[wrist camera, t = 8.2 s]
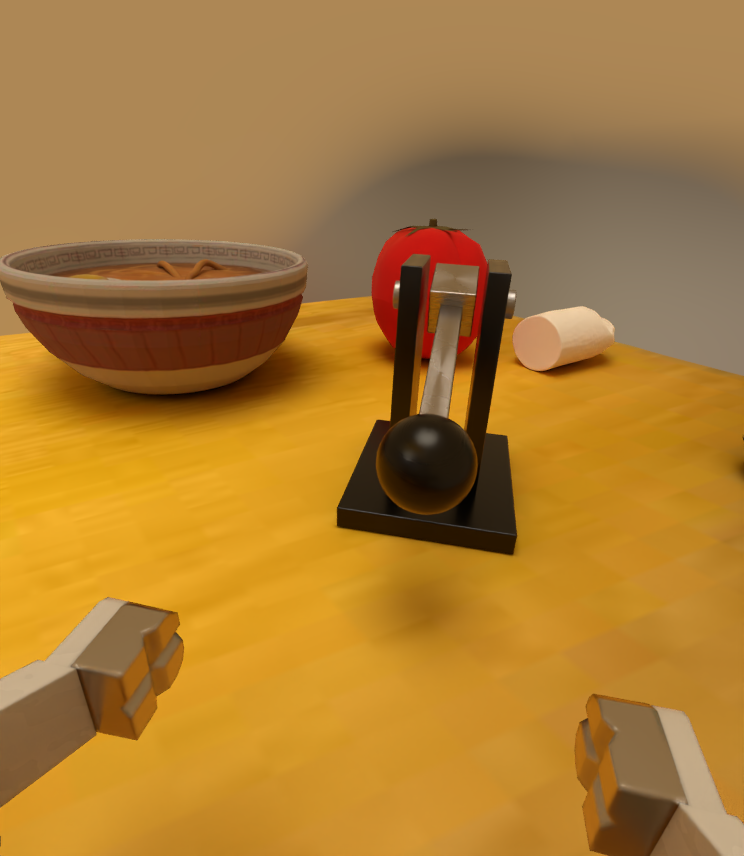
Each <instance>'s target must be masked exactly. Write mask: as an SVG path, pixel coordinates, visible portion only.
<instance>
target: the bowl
mask: <svg viewBox="0 0 744 856" xmlns="http://www.w3.org/2000/svg"><path fill="white" fill-rule="evenodd" d="M307 268H308V264H307V262H306V260H305V259H304V258H303V256H301V255H299V254H297V253H294V252H291V251H288V250H284V249H279V248H275V247H269V246H262V245H255V244H246V243H235V242H221V241H203V240H112V241H94V242H79V243H68V244H58V245H50V246H43V247H36V248H31V249H26V250H21V251H17V252H14V253H11V254H8V255H5V256H3V257H1V258H0V282H1V285H2V287H3V290H4V292H5V295H6V298H7V299H9V300H10V301H12V302H13V305H14V309H15V312H16V313H17V315H18V316H19V318H20V319H21V321H22V322H23V324H24V325H25V327H26V328H27V329H28V330H29V331H30V332H31V333H32V334H33V335H34V336H35V337H36V339H37V340H38V341H39V342H40V343H41V344H42V345H43V346H44V347H45V348H46V349H47V350H48V351H49V352H50V353H52V354H53V355H55V356H56V357H57V358H59V359H60V360H62V361H63V362H65V363H66V364H67V365H69V366H70V367H72V368H73V369H75V370H76V371H77V372H79V373H80V374H82V375H83V376H86V377H88V378H91V379H93V380H96V381H98V382H101V383H103V384H106V385H108V386H111V387H113V388H116V389H119V390H123V391H128V392H133V393H142V394H181V393H190V392H198V391H203V390H208V389H213V388H217V387H220V386H224V385H227V384H230V383H232V382H235V381H237V380H239V379H241V378H243V377H244V376H246V375H247V374H249V373H250V372H252V371H253V370H255V369H256V368H258V367H259V366H260V365H262V364H263V363H264V362H265V361H267V360H268V359H269V358H270V357H271V355H272V354H273V353H274V352H275V351H276V349H277V348H278V347H279V346H280V345H281V344H282V342H283V341H284V340H285V338H286V336H287V334H288V332H289V330H290V329H291V327H292V325H293V323H294V321H295V319H296V317H297V315H298V313H299V309H300V306H301V302H302V299H303V296H302V293H303V292H304V290H305V288H306V280H307Z"/></svg>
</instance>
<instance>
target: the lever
mask: <svg viewBox="0 0 744 856" xmlns="http://www.w3.org/2000/svg"><path fill="white" fill-rule="evenodd" d="M479 268H480V267H479V266H469V265H455V264H442V263H436V267H435V271H434V275H433V280H432V284H431V288H430V295H429V311H428V326H427V332H428V333H435V335H434V340H433V345H432V350H431V355H430V361H429V366H428V371H427V376H426V381H425V386H424V391H423V396H422V402H421V407H420V412H419V414H417V415H413V416H409V417H407V418H404V419H402V420H401V421H399V422H398V423H396V424H395V425H394V426H392V427H391V428H390V429H389V431H388V432H387V433H386V434H385V436H384V437H383V439H382V441H381V443H380V445H379V448H378V452H377V457H376V471H377V476H378V479H379V482H380V485H381V487H382V489H383V490H384V492H385V493H386V495H387V496H388V497H389V498H390V499H391V500H392V501H393V502H394V503H395V504H396V505H398V506H399V507H401V508H402V509H405V510H407V511H409V512H412V513H416V514H422V515H432V514H438V513H442V512H445V511H448V510H450V509H452V508H453V507H455V506H456V505H458V504H459V503H460V502H461V501H462V500H463V499H464V498H465V497H466V496H467V495H468V493H469V492H470V490H471V488H472V486H473V484H474V482H475V478H476V475H477V467H478V464H477V455H476V450H475V448H474V445H473V443H472V441H471V439H470V437H469V436H468V434H467V433H466V432H465V431H464V430H463V429H462V428H461V427H460V426H459V425H458V424H457V423H455V422H454V421H452V420H450V419H448V416H449V409H450V402H451V395H452V387H453V380H454V373H455V365H456V358H457V351H458V343H459V336H466V337H470V336H471V332H472V324H473V317H474V310H475V303H476V296H477V287H478V278H479Z"/></svg>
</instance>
